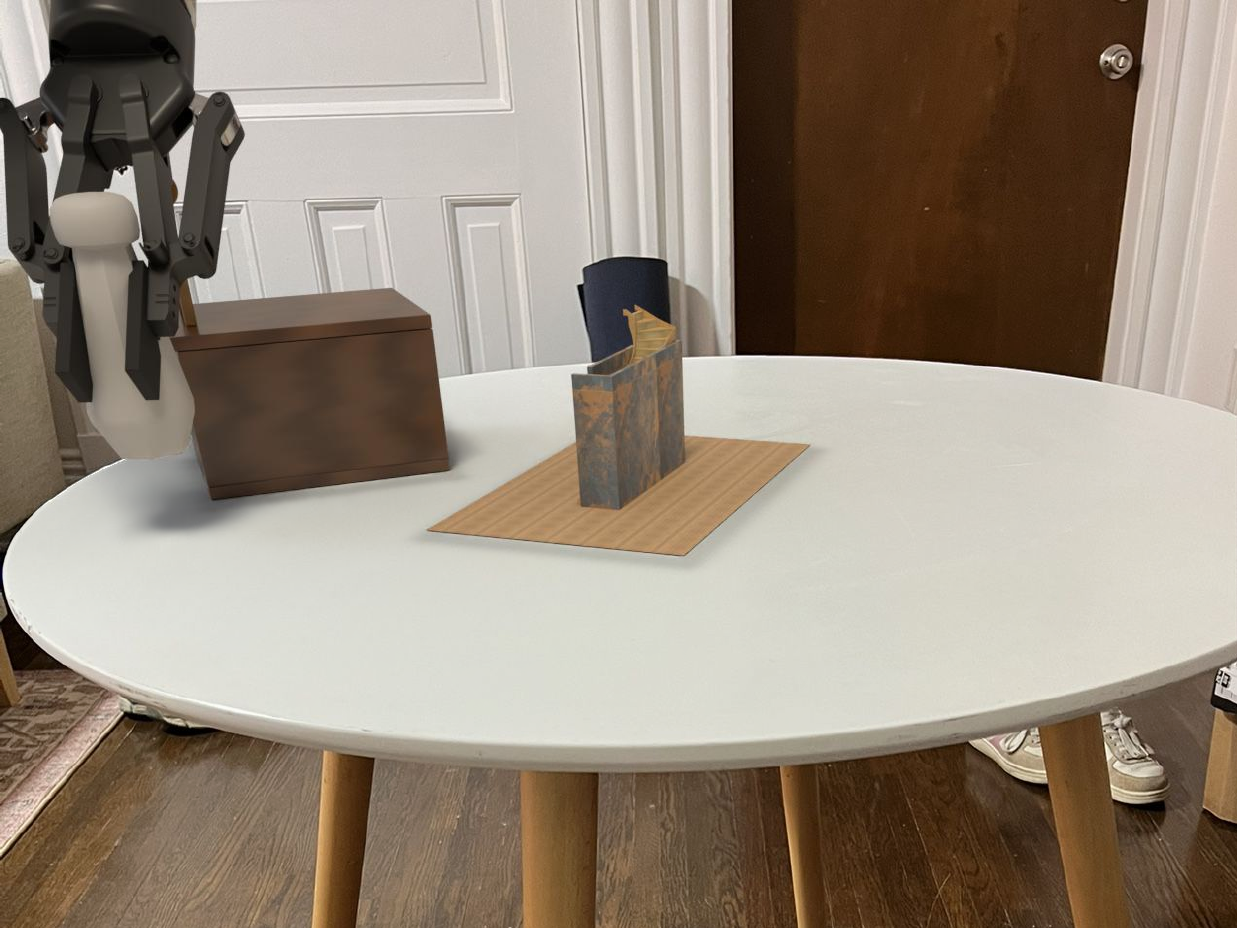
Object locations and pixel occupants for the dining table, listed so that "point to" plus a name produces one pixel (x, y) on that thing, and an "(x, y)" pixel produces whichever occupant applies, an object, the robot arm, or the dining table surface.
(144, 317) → the robot arm
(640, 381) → the architectural model on board
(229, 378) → the box
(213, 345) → the caddy lid
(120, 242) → the salt shaker
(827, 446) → the dining table surface
